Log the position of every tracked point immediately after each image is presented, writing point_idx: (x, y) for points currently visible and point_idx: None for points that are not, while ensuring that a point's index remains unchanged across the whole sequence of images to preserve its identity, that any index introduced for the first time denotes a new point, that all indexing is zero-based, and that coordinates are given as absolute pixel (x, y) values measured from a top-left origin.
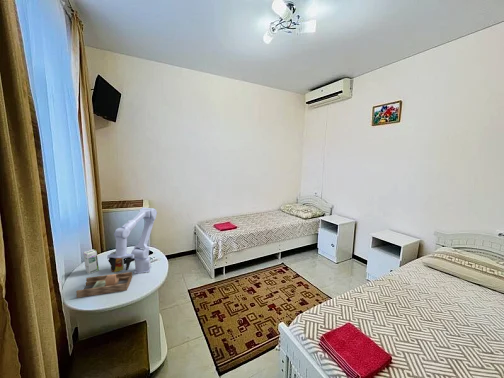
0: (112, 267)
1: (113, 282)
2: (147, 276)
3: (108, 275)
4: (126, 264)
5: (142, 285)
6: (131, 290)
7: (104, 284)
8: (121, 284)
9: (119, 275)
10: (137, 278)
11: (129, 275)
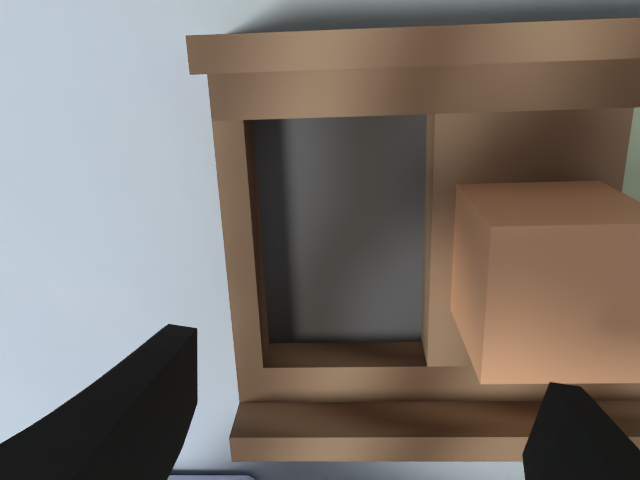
0: (617, 452)
1: (476, 195)
2: (30, 367)
3: (627, 359)
4: (72, 451)
5: (8, 127)
6: (139, 12)
7: None
8: (286, 47)
9: (430, 421)
10: None
11: (274, 406)
